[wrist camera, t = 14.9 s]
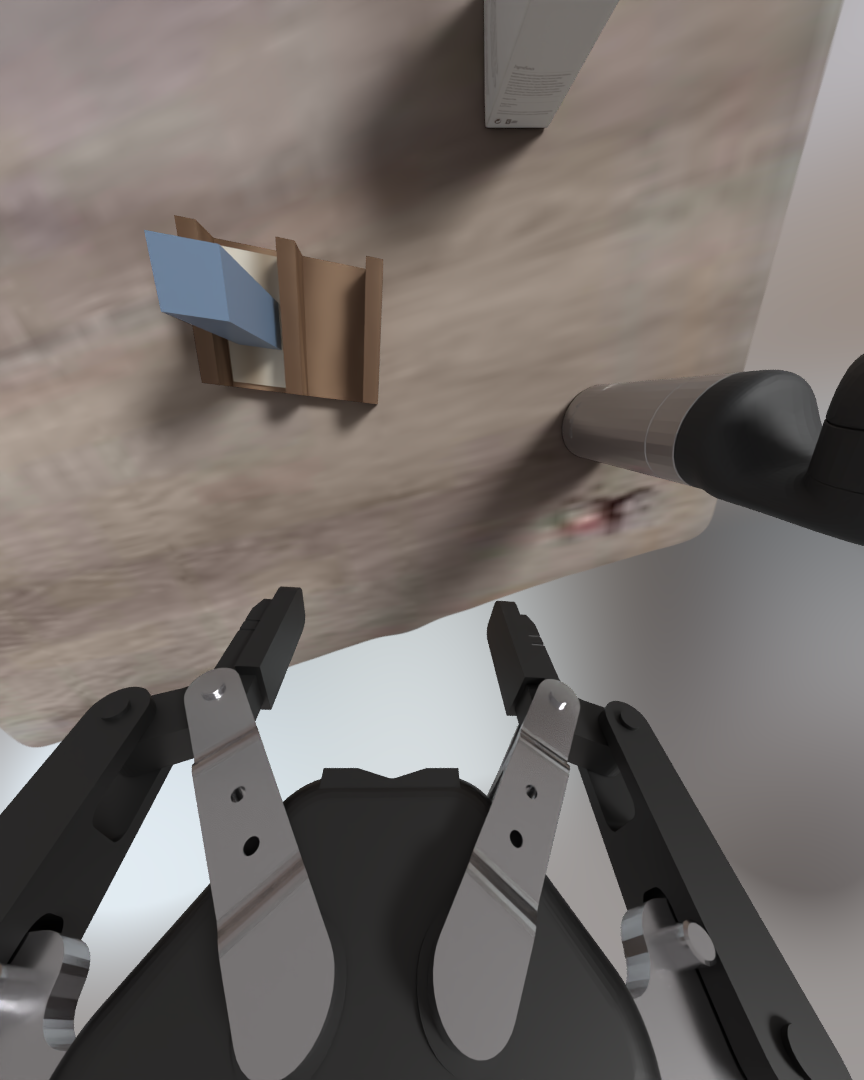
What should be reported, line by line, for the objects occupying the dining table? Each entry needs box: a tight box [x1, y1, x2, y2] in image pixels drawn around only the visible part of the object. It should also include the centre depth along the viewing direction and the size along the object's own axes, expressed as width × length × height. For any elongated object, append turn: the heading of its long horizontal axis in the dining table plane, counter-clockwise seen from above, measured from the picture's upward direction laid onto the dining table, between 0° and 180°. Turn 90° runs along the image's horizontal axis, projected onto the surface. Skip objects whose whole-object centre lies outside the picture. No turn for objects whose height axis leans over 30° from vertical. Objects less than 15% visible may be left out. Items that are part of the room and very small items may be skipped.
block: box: [144, 230, 282, 350], centre depth 25 cm, size 4×4×12 cm
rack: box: [174, 215, 383, 404], centre depth 30 cm, size 16×12×4 cm
